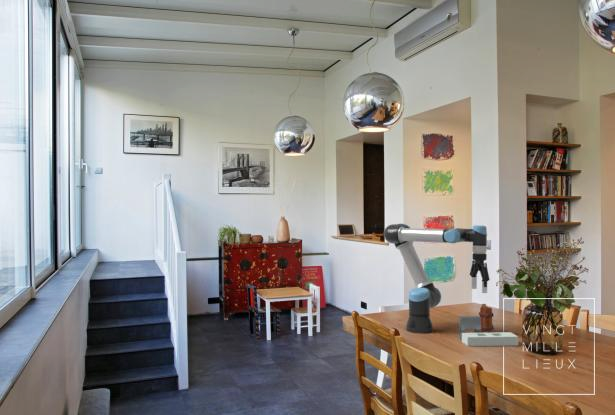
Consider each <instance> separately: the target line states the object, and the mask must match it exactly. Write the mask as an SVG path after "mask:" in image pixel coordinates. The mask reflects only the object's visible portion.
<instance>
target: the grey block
mask: <svg viewBox="0 0 615 415" xmlns="http://www.w3.org/2000/svg"><path fill="white" fill-rule="evenodd" d="M458 321H459V322H458V324H459V325H458V329H459V330H458V331H459V332H458V334H459V335H458V338H459V340H461V341H462V333H467V329H469V330H470V329H473V333H481V317H480V315H459V317H458Z"/></svg>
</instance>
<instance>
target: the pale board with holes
mask: <svg viewBox="0 0 615 415" xmlns="http://www.w3.org/2000/svg"><path fill="white" fill-rule="evenodd" d="M461 342H462V343H463V344H464V345H466V346H467V347H497V346H498V347H504V346H506V347H509V346H512V347H513V346H515V347H516V346H519V336H518V335H516V334H514V333H513V332H511V331H509V332H508V331H507V332H506V331H505V332H500V331H499V332H493V331H492V333H474V332H466V333H462V340H461Z"/></svg>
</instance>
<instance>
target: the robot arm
mask: <svg viewBox="0 0 615 415" xmlns="http://www.w3.org/2000/svg"><path fill="white" fill-rule="evenodd" d="M383 237H384V239H385V240H386V242H388V243H389V244H394V246H395V248H396V250H399V252H400V254H401V256H402V259H403V261H404V263H405V265H406V268H407V270H408V272H409V275H410V276H411V279H412V281H413V283H414V286H415V287H413V288H411V289H410V290H409V292H408V319H407V321H406V325H405V330H406V332H407V331H408V332H410V333H417V334H426V333H432V332H433V331H434V325H433V323H432V320H431V314H430V312H431V311H430V309H432V308H435V307H437V305H439V304H440V303H441V302H442V301H441V300H442V294H441V291H440V290H439V289H438V288H437V287H435V285H434V283H433V281H430V279H429V278H428V276H427V273H426V271H425V268H424V267H423V264H422V262H421V260H420V257H419V255H418V254H417V251H416V249H415V246H414V242H421V243H422V242H424V243H446V244H447V243H448V244H457V243H462V242H463V243H464V242H465V243H472V246H471V247H472V250H471V252H472V260H471V261H472V262H471V267H470V272H469V276H471V277H470V278H471V289H472V290H476V289H478V288H477V287H478V284H477V283H478V282H477V281H478V280H477V278H478V276H477V275H478V272H479V273H480V276H481V279H482V280H481V293H482V294H488V281H489V282H490V280H491V279H490V275H489V271H488V270H489V269H488V264H487V263H488V262H485V261H487V251H488V250H487V249H488V246H487V245H488V243H487V238H488V234H487V226H486V225H477V224H475V225H472V228H463V227H461V228H459V227H455V228H451V229H450V228H448V229H445V228H413V227H412V228H411V227H410V226H409V225H408V224H406V223H395V224H389V225H387V226H386V228H384V231H383Z"/></svg>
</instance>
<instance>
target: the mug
mask: <svg viewBox="0 0 615 415" xmlns="http://www.w3.org/2000/svg"><path fill="white" fill-rule="evenodd" d="M478 316H480V317H481V333H493V331H494V329H495V327H494V325H493V317H494V313H493V308H492V307H489V306H487V304H486V303H481V307H480V308H479V312H478Z"/></svg>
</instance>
